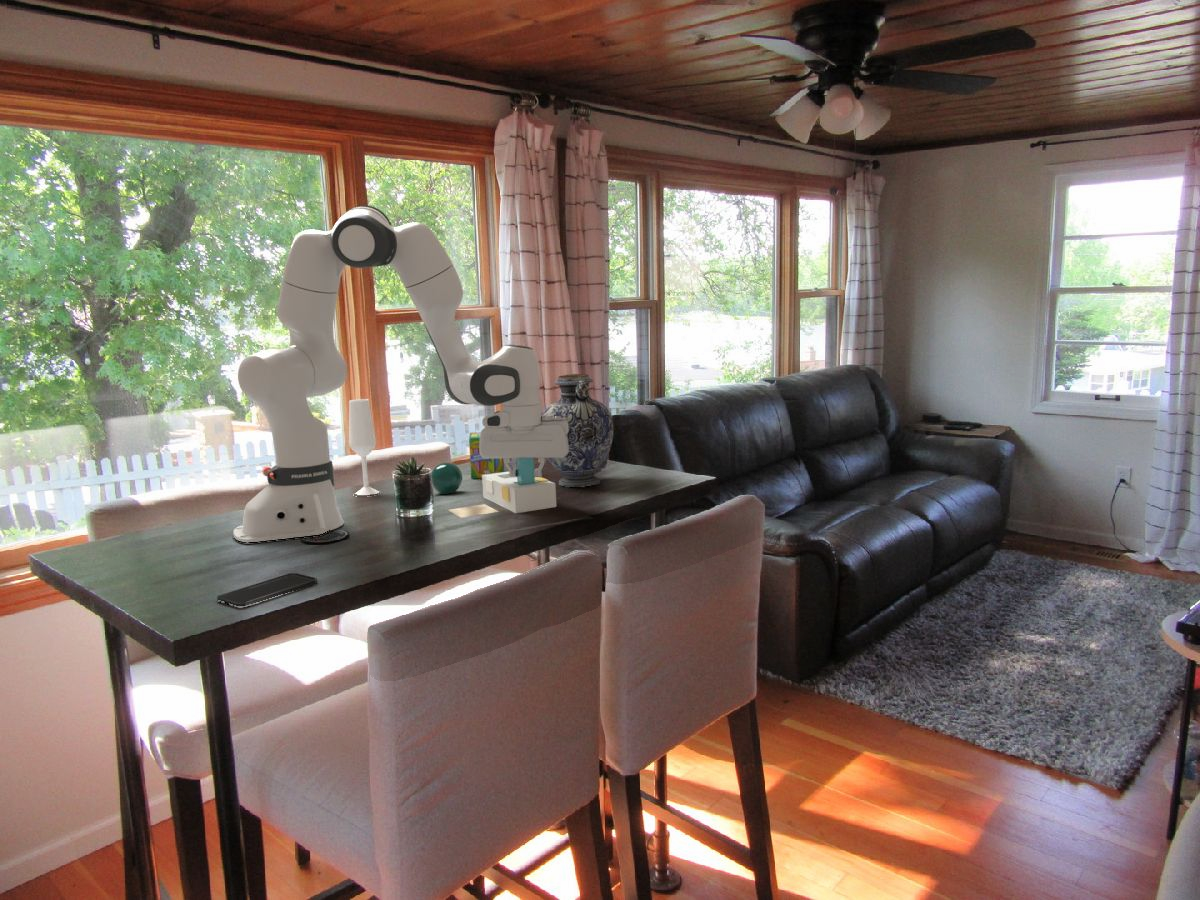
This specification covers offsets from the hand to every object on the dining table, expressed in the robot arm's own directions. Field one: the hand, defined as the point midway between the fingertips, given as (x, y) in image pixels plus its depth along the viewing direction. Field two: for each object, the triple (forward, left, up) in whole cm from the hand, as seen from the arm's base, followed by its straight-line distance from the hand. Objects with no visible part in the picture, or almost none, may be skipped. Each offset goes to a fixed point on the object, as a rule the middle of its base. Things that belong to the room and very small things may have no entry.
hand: (525, 477), depth 199 cm
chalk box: (+7, +43, -8) cm, 44 cm away
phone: (-60, -28, -8) cm, 67 cm away
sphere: (-10, +27, -8) cm, 30 cm away
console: (0, +5, -7) cm, 9 cm away
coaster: (-12, +3, -7) cm, 14 cm away
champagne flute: (-27, +40, -8) cm, 49 cm away
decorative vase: (+22, +17, -8) cm, 29 cm away
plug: (0, 0, -3) cm, 3 cm away
